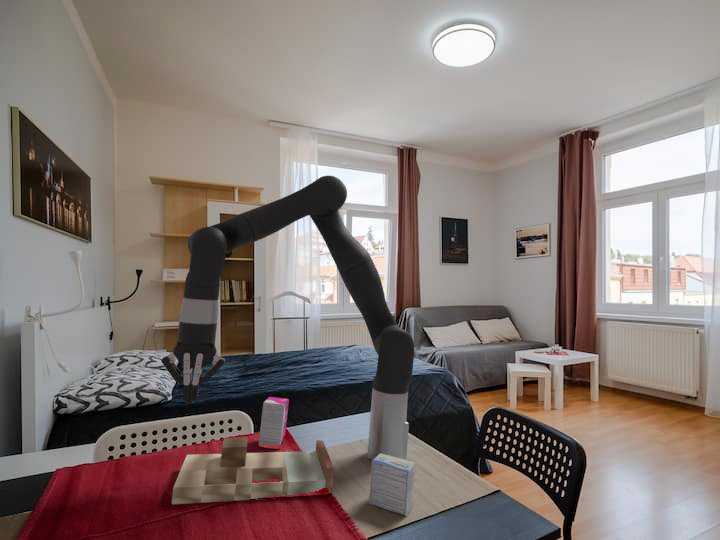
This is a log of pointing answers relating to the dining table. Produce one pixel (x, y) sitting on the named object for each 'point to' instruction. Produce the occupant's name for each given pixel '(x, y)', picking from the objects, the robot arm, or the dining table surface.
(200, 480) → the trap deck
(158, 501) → the dining table surface
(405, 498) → the medicine box
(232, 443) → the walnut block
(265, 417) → the supplement box
